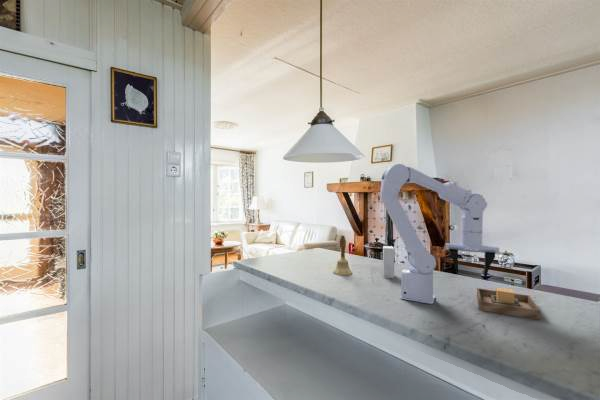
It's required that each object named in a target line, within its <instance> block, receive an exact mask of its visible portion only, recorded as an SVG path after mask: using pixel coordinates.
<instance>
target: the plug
mask: <svg viewBox="0 0 600 400" xmlns="http://www.w3.org/2000/svg"><path fill="white" fill-rule="evenodd" d="M495 291H496V301H499V302H505V303H512V304H514V293H515V291H514V289H511V288H506V287H505V288H504V287H499V286H498V287H496V290H495Z"/></svg>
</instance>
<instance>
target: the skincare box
mask: <svg viewBox="0 0 600 400" xmlns="http://www.w3.org/2000/svg"><path fill="white" fill-rule="evenodd" d="M395 250H396V249H395V248H394V246H392V245H391V246H388V245H383V246H382V269H381V270H382V277H383V278H387V279H395Z"/></svg>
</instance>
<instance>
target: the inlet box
mask: <svg viewBox="0 0 600 400" xmlns="http://www.w3.org/2000/svg"><path fill="white" fill-rule="evenodd" d="M476 299H477V307H478V310H479V311H480V310H481V311H486V312H491V313H496V314H503V315H509V316H515V317H520V318H526V319H533V320H538V321H541V310H540V308H539V307H538V306H537V304H536V303H535V301H534V300H533V298H532V297H531V295H529V294H528V295H527V294H524V293H523V294H521V293H516V292H514V304H512V303H505V302H499V301H496V290H494V289H493V290H492V289H485V288H480V287H477V288H476Z"/></svg>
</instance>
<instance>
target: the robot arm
mask: <svg viewBox="0 0 600 400" xmlns="http://www.w3.org/2000/svg"><path fill="white" fill-rule="evenodd" d="M380 180H381V184H380V192H379V193H380V194H379V198H380V201H381V203H382V204H383V206H384V208H385V210H386V212H387V214H388V216H389V218H390V219H391V222H392V224H393V225H394V227H395V229H396V230H397V232H398V234H399V237H400V238H401V241H402V242H403V244H404V246H405V251H406V253H407V261H408V262H409V264H410V266H409V267H408V268H407V269H405V268H404V269H402V271H401V279H400V280H401V282H400V285H401V286H400V299H401V300H406V301H407V300H408V301H413V302H418V303H422V304H423V303H424V304H429V305H433V304H434V303H435V298H436V296H435V294H434V270H435V269H436V266H437V260H436V258H435V256H434V255H432V254H431V253H430V252H429V251H428V250H427V248H426V246H425V245H424V243H423V242H422V241H421V240H420V237H419V235H418V234H417V232H416V230H415V228H414V226H413V225H412V222H411V220H410V219H409V216H408V215H407V213H406V211H405V209H404V207H403V205H402V203H401V202H400V199H399V198H398V196H399V193H400V191H401V188H402V187H403V186H404V185H405V184H411V183H414V184H416V185H419V186H421V187H423V188H427V189H429V190H431V191H433V192H435V193H437V194H438V197H439V199H441V200H444V201H446V202H448V203H449V204H452V205H453V206H457V207H459V209H460V210H461V229H460V230H461V233H460V236H461V237H460V239H461V241H460V243H451V242H450V243H449V242H446V243H445V250H446V251H449V255H450V257H451V260H452V262H453V265H454V270H455V274H459V251H460V252H472V253H473V252H474V253H482V254H483V253H484V267H483V277H484V278H487V277H488V272H489V270H490V267H491V265H492V264H493V262H494V259H495V258H496V255H500V247H499V246H492V245H491V246H490V245H483V221H484V219H483V217H484V211H485V210H486V208H487V206H488V202H486V199H485V198H484V196H483V195H481V194H480V193H472V190H471V189H469V188H468V189H465V188H463V187H461V186H459V185H458V183H457V182H455V181H452V182H450V181H448V182H447V181H446V182H445V183H443V182H441V181H439V180H437V179H435V178H433V177H431V176H429V175H427V174H425V173H423V172H421V171H419V170H417V169H415V168H413V167H410V166H406V165H405V164H402V163H396V164H393V165H391V166H389V167H387V168H386V169H385V170H384V172H383V174H382V176H381V179H380Z"/></svg>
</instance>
